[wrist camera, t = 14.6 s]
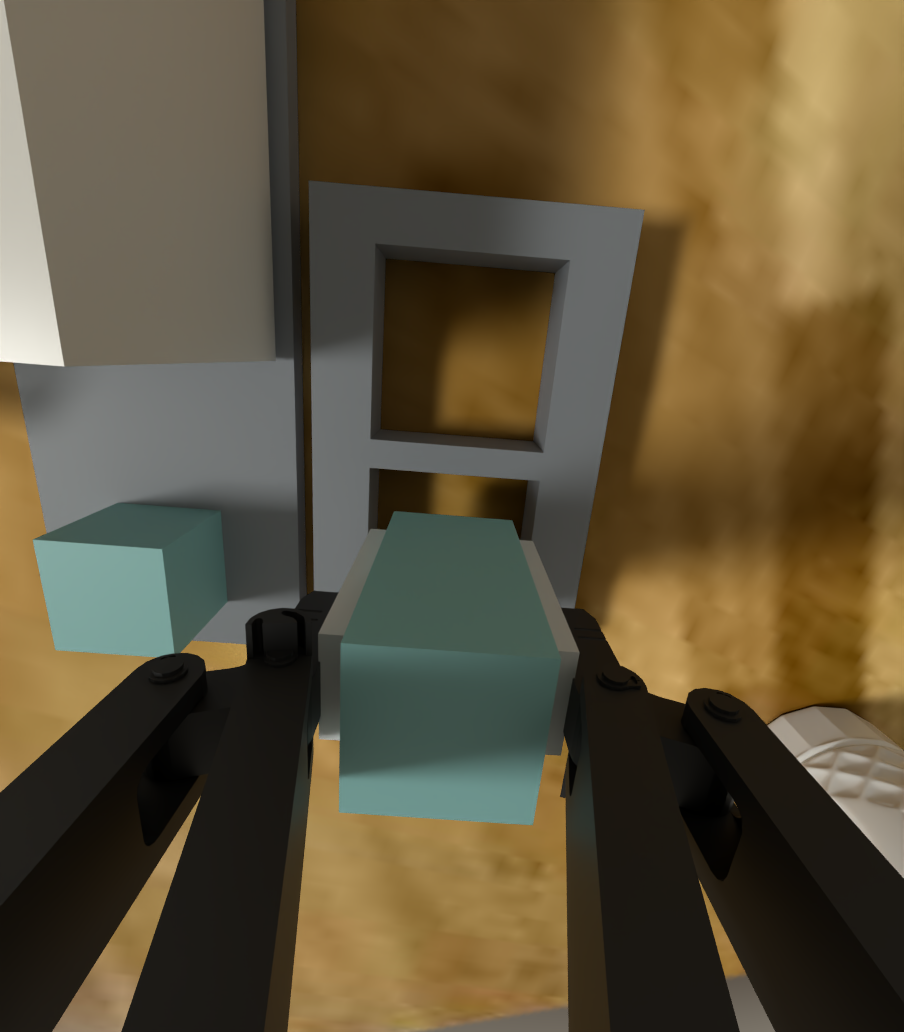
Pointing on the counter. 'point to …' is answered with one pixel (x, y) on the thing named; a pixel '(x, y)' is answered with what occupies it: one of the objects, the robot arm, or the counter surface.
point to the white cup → (852, 770)
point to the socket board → (543, 462)
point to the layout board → (181, 459)
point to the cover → (134, 183)
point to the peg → (446, 676)
